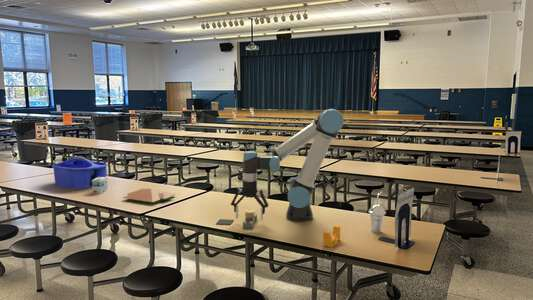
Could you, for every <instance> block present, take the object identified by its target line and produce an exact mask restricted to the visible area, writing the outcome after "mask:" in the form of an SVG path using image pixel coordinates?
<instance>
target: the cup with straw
mask: <svg viewBox="0 0 533 300" xmlns="http://www.w3.org/2000/svg"><path fill="white" fill-rule="evenodd" d="M382 193H383V190H381V191H380V192H379V193H378V194H377V196H376V204H373V205H372V206H371V207H370V208H369V209H368V214H369V217H370V224H371V225H370V227H371V232H372V233H375V234H377V233H381V232H382V227H383V221H384V217H385V215H386V214H387V212H386V210H385V209H384V207H383V206H382V205H381V204H379V197H380V195H381V194H382Z"/></svg>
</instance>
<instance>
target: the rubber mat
mask: <svg viewBox="0 0 533 300" xmlns="http://www.w3.org/2000/svg"><path fill="white" fill-rule="evenodd" d="M233 222H234V219H226V218H224V219H223V218H222V219H221V218H219V219H218V220H217V222H216V223H215V224H216V225H218V226H219V225H222V226H231V225H232V223H233Z"/></svg>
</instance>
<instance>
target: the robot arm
mask: <svg viewBox="0 0 533 300" xmlns="http://www.w3.org/2000/svg"><path fill="white" fill-rule="evenodd" d="M344 123H345V122H344V116H343V114H342V113H341V111H339V110H337V109H334V108H328V109H325V110H323V111H322V112H321V113H320V114H319V115H318V116H317V117H315V118H314V119H313V120H312V121H311V123H310V124H309V125H306V127H305V128H303V129H301V130H300V131H299V132H297V133H296V134H294V135H293V136H292V137H289V138H288V139H287V140H285V141H284V142H282V143H281V144H280V145H278V146H277V147H276V148H274V149H273V150H271V151H269V152H268V153H266V154H265V155H258V152H257V151H253V150H248V151H245V152H243V156H242V157H243V158H242V188H241V187H237V189H236V192H235V194H234V197H233V199H232V201H231V202H230V206H233V211H234V213H235V220H238V218H239V204H240V203H241V201H242V200H244V198H246V199H247V198H251V199H252V198H254V199H255V200H256V201H257V203H258V204H259V205H260V207H261V208H260V221H263V220H264V214H265V213H266V208H268V207H269V203H268V201H267V199H266V196H265V193H264V192H263V191H264V190H263V189H262V188H261V189H258V186H257V185H258V181H257V180H258V171H260V170H263V171H279V170H280V168H281V167H280V166H281V162H282V161H283V160H285V158H287V157H289V156H291V155H292V154H293V153H295V152H296V151H297V150H299V149H300V148H302V147H303V146H305V145H306V144H308V143H309V142H311V141H312V140H313V141H312V143H311V146H310V148H309V150H308V153H307V155H306V157H305V160H304V162H303V164H302V167H301V169H300V172H299V174H298V175H297V176H295V177H290V178H289V182H288V183H289V189H288V193H287V201H288V202H289V205H288V207H287V210H286V214H285V216H286V219H287V220H290V221H293V222H308V221H311V220H313V218H314V214H313V210H312V206H311V198H312V197H311V196H312V195H313V192H314V190H315V188H316V186H315V183H314V182H315V180H316V178H317V176H318V174H319V171H320V168H321V166H322V164H323V162H324V160H325V157H326V155H327V152H328V150H329V148H330V147H331V143H332V141H333V140H336V139H337V137H338V135H339V132H340V131H341V130H342V128H343V126H344ZM241 192H242V196H241V197H239V199H238V196H239V195H240V193H241ZM257 193H258V194H259V195H260V197H259V196H258V195H257ZM237 199H238V200H237Z"/></svg>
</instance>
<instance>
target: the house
mask: <svg viewBox="0 0 533 300" xmlns="http://www.w3.org/2000/svg"><path fill="white" fill-rule="evenodd" d="M175 195H176V193H174V192H169V191H164V190H158V189H152V188H140V189H137V190H134V191H132V192H131V191H130V192H129V193H126V196H123V197H122V199H128V200H130V202H132V203H133V202H134V203H135V202H136V203H137V201H139V202H140V204H144V202H146V203H147V205H151V206H153V205H156V202H161V201H165V202H166V201H169V200H172V198H175Z"/></svg>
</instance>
